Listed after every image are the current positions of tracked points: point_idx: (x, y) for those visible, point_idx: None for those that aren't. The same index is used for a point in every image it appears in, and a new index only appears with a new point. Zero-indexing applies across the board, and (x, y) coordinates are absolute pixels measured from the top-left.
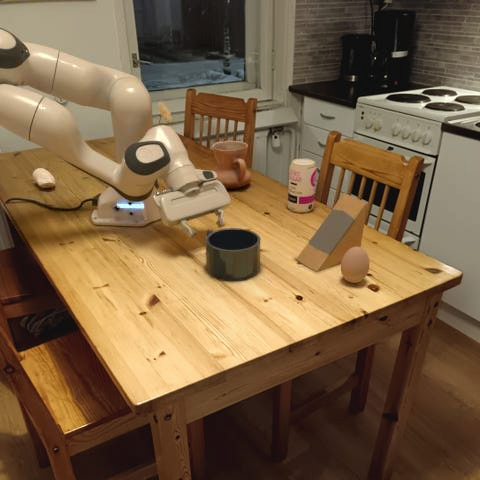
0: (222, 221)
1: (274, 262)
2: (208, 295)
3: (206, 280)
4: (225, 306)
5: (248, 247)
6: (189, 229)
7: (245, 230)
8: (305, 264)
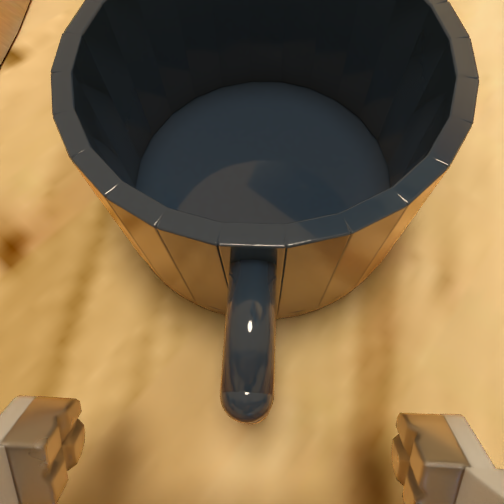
0: (24, 416)
1: None
2: (498, 84)
3: (443, 176)
4: (476, 5)
5: (117, 162)
6: (487, 462)
7: (73, 103)
8: (13, 29)
